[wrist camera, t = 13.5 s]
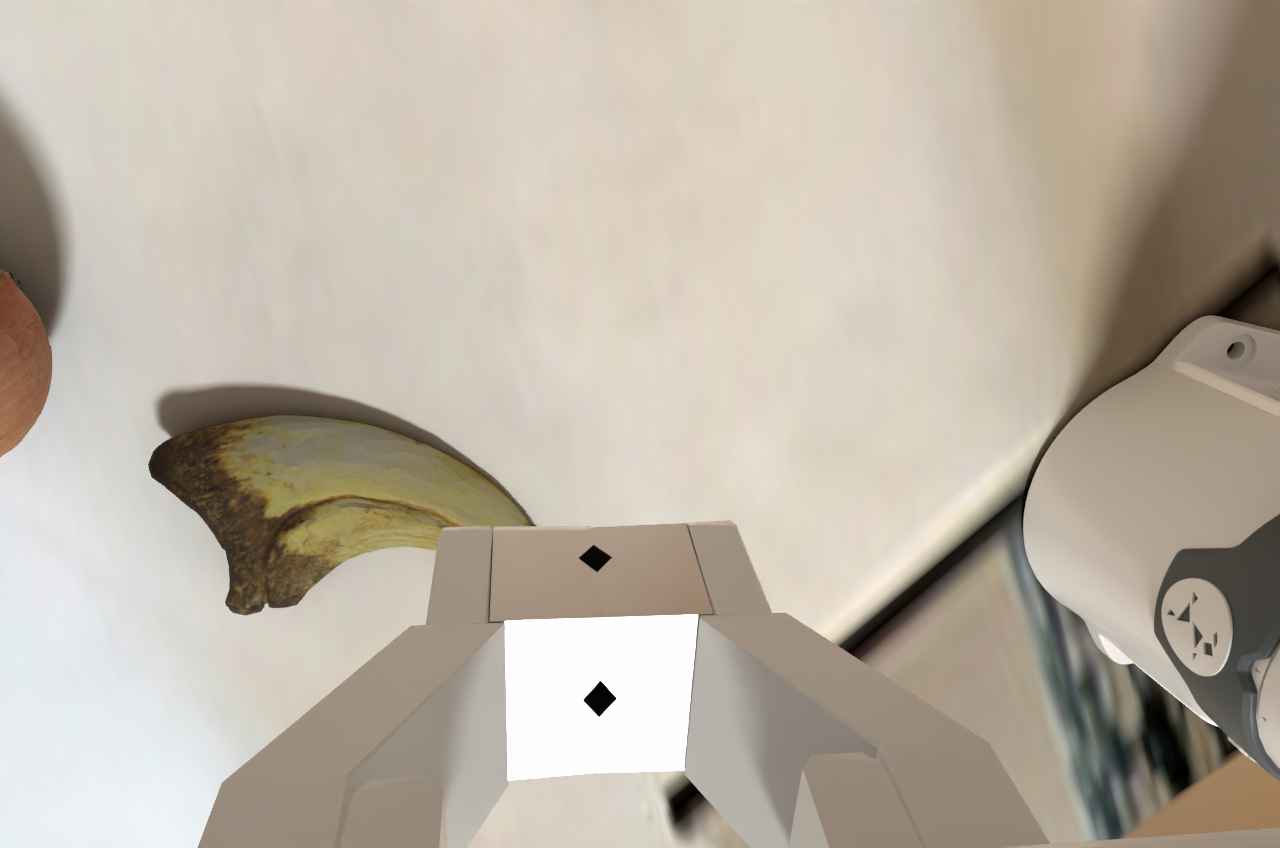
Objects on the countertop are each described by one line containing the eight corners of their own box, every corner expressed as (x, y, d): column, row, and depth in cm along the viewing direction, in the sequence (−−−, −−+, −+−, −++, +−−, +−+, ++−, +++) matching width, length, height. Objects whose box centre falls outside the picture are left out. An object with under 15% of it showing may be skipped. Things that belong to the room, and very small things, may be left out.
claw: (139, 549, 42) (108, 588, 39) (203, 351, 39) (176, 377, 36) (537, 670, 47) (539, 714, 44) (620, 504, 44) (629, 538, 41)
